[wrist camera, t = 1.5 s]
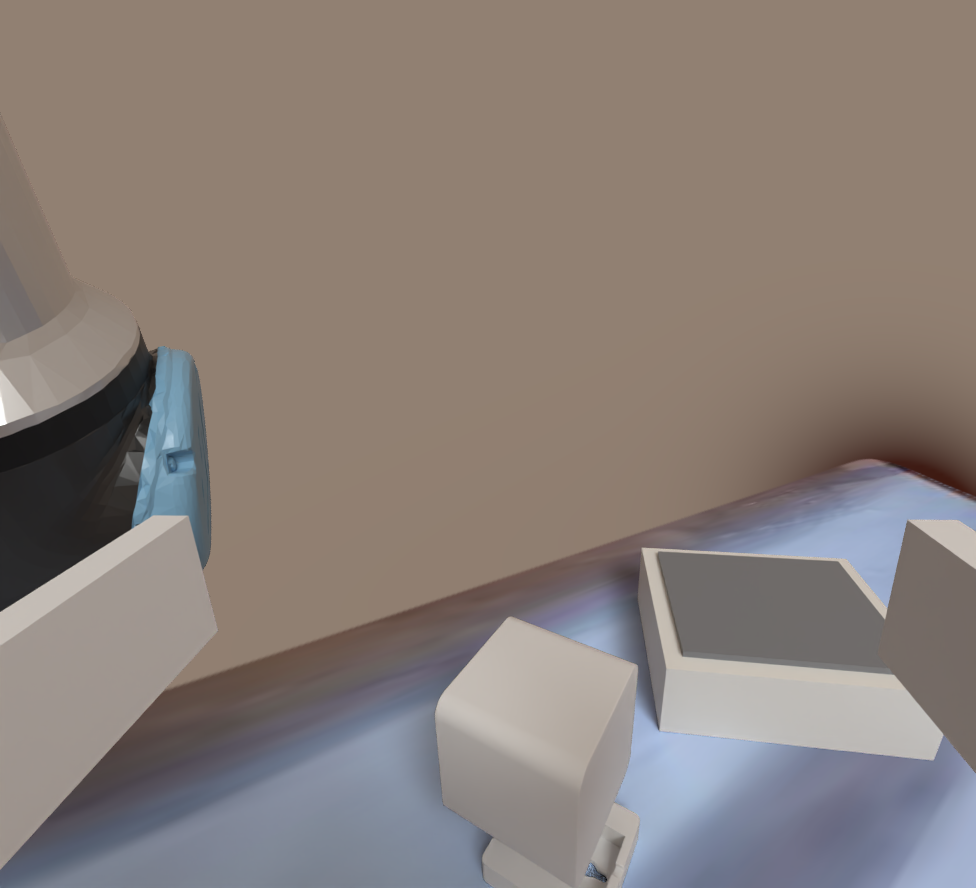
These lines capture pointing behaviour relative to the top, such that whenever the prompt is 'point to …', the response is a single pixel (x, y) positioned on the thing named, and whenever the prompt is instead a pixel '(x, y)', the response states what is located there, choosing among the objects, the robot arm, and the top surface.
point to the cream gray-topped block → (774, 654)
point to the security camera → (541, 757)
